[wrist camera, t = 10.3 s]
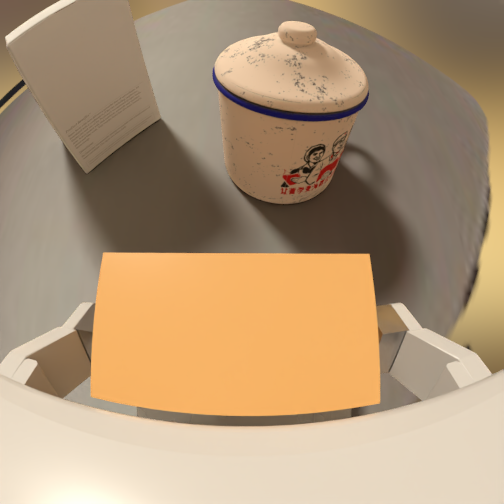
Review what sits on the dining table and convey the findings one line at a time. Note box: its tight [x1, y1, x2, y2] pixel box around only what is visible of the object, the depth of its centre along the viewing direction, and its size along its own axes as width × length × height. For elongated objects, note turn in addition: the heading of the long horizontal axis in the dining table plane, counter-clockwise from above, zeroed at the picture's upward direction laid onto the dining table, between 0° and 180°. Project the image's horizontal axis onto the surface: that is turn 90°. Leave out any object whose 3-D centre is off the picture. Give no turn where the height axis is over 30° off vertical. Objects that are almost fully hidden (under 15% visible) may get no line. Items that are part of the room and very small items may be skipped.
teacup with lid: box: [213, 21, 369, 204], centre depth 16 cm, size 12×9×12 cm
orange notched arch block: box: [91, 253, 380, 416], centre depth 10 cm, size 6×3×12 cm, turn 90°
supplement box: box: [5, 0, 161, 173], centre depth 16 cm, size 9×9×15 cm
